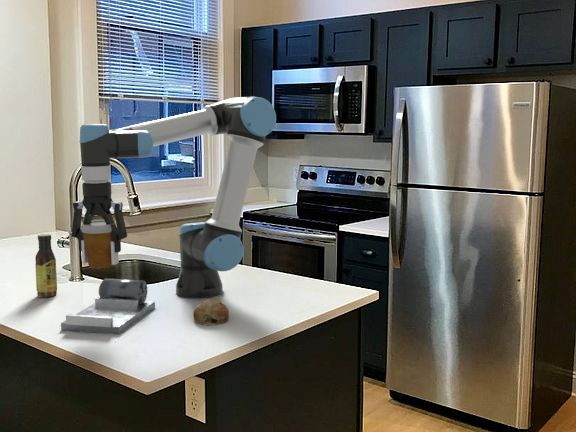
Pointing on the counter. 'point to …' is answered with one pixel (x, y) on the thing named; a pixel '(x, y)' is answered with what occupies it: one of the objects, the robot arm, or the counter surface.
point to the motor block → (112, 308)
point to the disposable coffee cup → (98, 243)
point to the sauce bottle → (45, 268)
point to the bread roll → (211, 312)
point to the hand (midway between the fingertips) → (100, 263)
